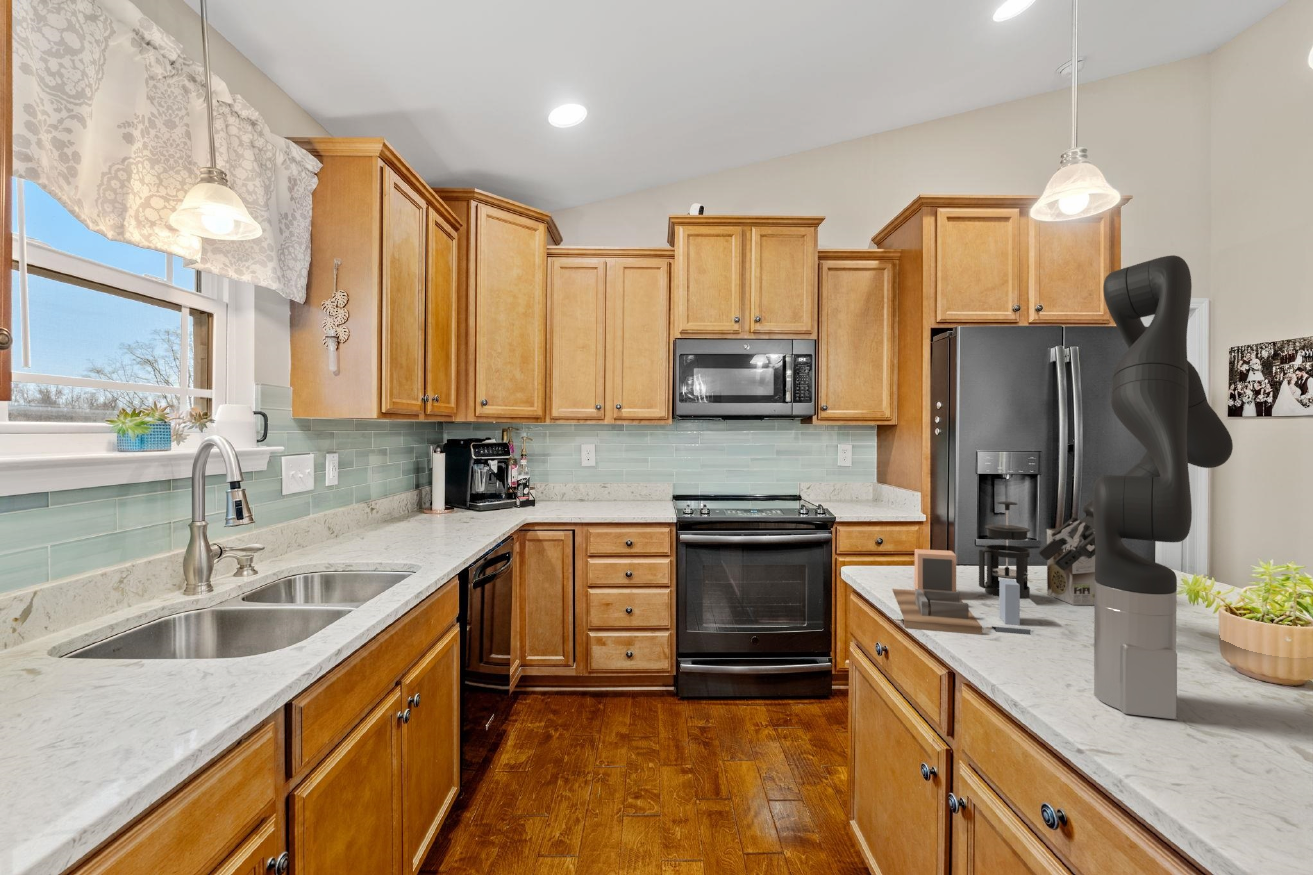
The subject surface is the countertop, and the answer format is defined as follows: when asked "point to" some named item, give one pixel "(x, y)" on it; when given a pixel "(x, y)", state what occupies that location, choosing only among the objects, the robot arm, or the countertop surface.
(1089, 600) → the coffee box
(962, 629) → the rail
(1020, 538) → the french press
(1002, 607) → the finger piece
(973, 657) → the countertop surface
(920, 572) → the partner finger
